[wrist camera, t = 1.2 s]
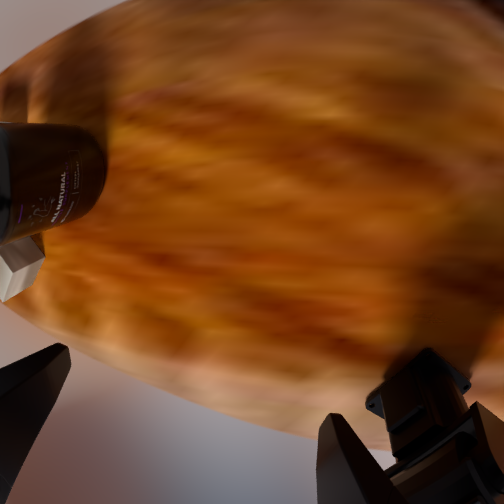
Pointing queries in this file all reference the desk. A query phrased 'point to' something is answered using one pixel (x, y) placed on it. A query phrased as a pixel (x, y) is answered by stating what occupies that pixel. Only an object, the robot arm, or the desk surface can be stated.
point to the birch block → (18, 266)
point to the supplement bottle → (46, 177)
